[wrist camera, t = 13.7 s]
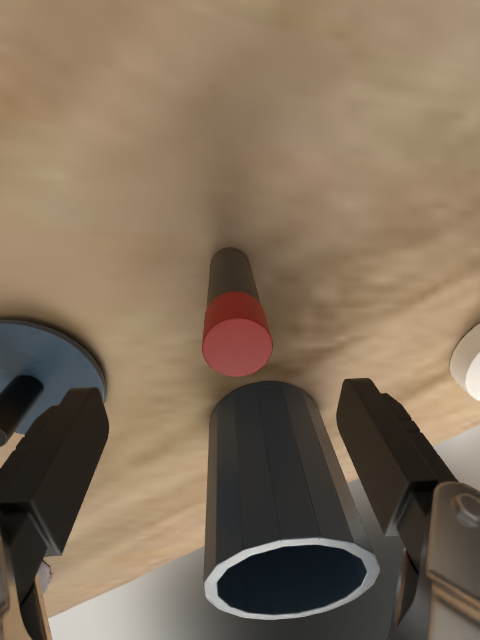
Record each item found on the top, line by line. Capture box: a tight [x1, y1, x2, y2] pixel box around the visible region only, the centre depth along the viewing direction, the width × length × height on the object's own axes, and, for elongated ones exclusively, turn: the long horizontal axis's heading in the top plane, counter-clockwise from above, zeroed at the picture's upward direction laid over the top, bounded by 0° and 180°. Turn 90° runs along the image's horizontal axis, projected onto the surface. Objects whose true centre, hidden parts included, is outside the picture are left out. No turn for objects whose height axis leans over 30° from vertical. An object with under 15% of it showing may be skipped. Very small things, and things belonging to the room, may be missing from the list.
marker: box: [202, 248, 273, 376], centre depth 17 cm, size 3×3×10 cm
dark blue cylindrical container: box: [203, 381, 380, 620], centre depth 24 cm, size 11×11×12 cm
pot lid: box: [0, 320, 106, 447], centre depth 22 cm, size 12×12×6 cm
